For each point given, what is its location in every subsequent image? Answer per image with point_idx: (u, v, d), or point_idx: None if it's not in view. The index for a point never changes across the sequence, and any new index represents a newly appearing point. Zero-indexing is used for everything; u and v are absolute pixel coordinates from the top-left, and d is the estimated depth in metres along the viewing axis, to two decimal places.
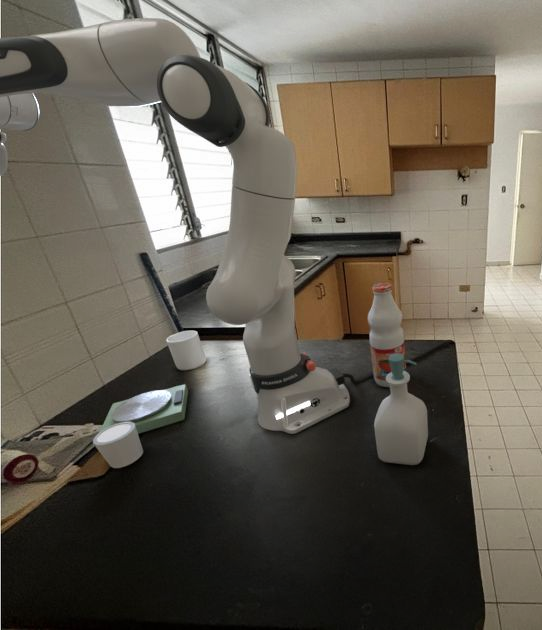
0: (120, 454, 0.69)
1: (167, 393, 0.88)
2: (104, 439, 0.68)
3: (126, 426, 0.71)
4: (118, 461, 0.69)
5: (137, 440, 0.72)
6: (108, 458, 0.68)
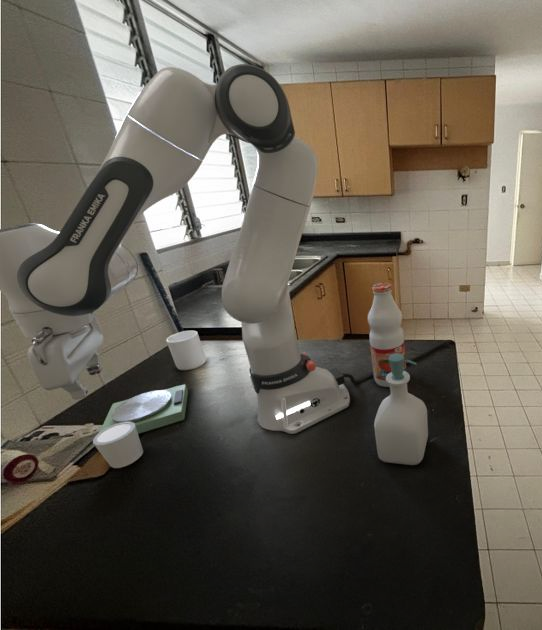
0: (120, 454, 0.69)
1: (167, 393, 0.88)
2: (104, 439, 0.68)
3: (126, 426, 0.71)
4: (118, 461, 0.69)
5: (137, 440, 0.72)
6: (108, 458, 0.68)
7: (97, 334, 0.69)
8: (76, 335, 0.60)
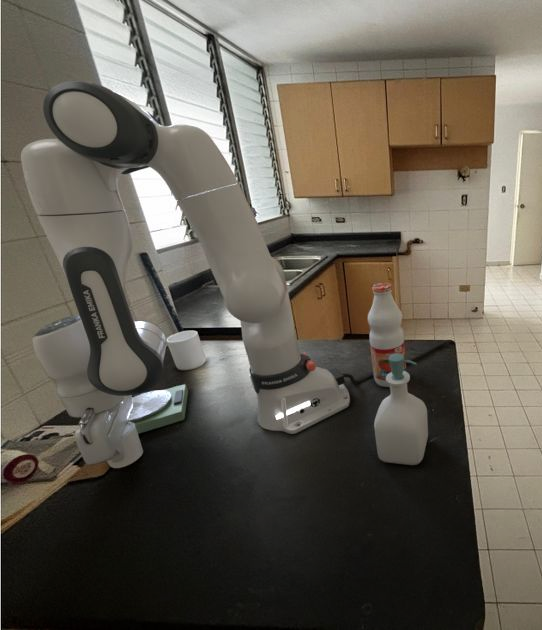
0: None
1: (167, 393, 0.88)
2: None
3: (126, 426, 0.71)
4: None
5: (137, 440, 0.72)
6: None
7: (128, 400, 0.76)
8: (113, 410, 0.66)
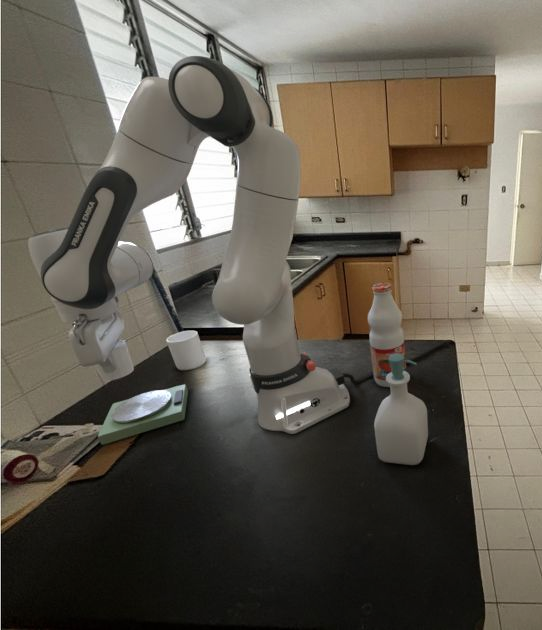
0: None
1: (167, 393, 0.88)
2: None
3: (117, 342, 0.75)
4: (110, 373, 0.73)
5: (128, 356, 0.75)
6: (100, 369, 0.72)
7: (120, 322, 0.80)
8: (105, 321, 0.70)
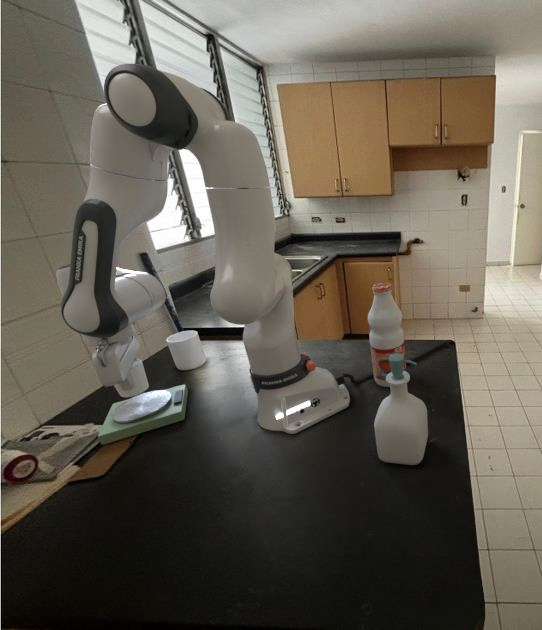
0: None
1: (167, 393, 0.88)
2: None
3: (134, 361, 0.81)
4: (127, 390, 0.79)
5: (144, 374, 0.81)
6: (118, 387, 0.78)
7: (136, 342, 0.85)
8: (124, 343, 0.76)
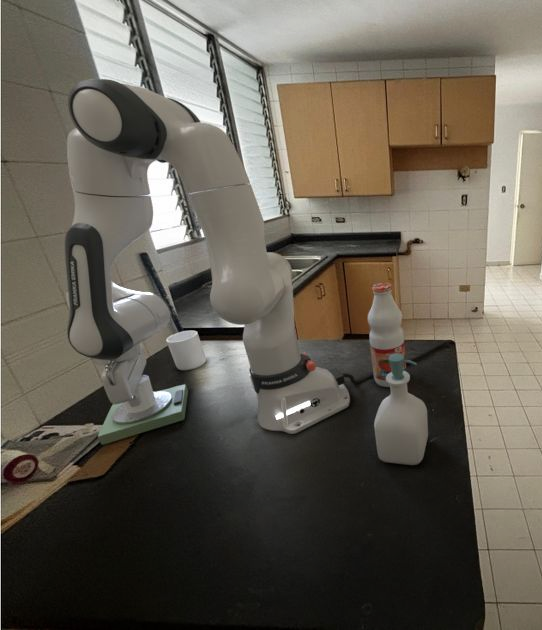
0: None
1: (167, 394, 0.88)
2: None
3: (141, 378, 0.83)
4: (135, 406, 0.80)
5: (151, 390, 0.83)
6: (126, 403, 0.80)
7: (142, 357, 0.87)
8: (132, 361, 0.78)
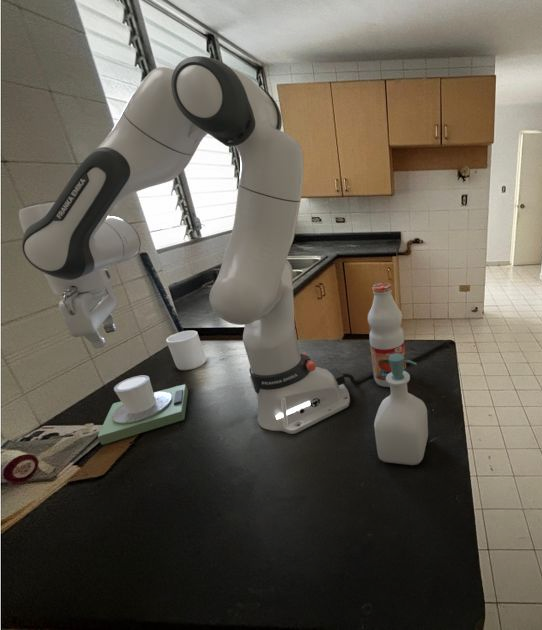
0: (137, 401, 0.80)
1: (168, 394, 0.88)
2: (123, 387, 0.79)
3: (141, 378, 0.83)
4: (135, 407, 0.81)
5: (151, 390, 0.83)
6: (127, 404, 0.80)
7: (112, 299, 0.81)
8: (96, 295, 0.72)
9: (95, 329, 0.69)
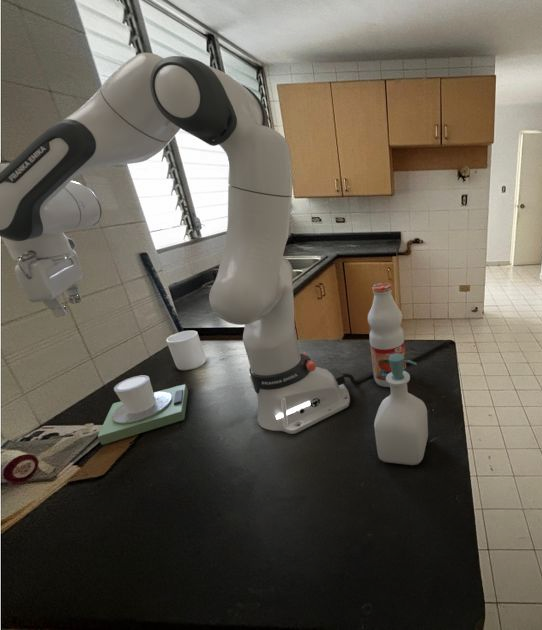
0: (137, 401, 0.80)
1: (168, 394, 0.88)
2: (123, 387, 0.79)
3: (141, 378, 0.83)
4: (135, 407, 0.81)
5: (151, 390, 0.83)
6: (127, 404, 0.80)
7: (78, 269, 0.80)
8: (57, 262, 0.71)
9: (54, 295, 0.67)
